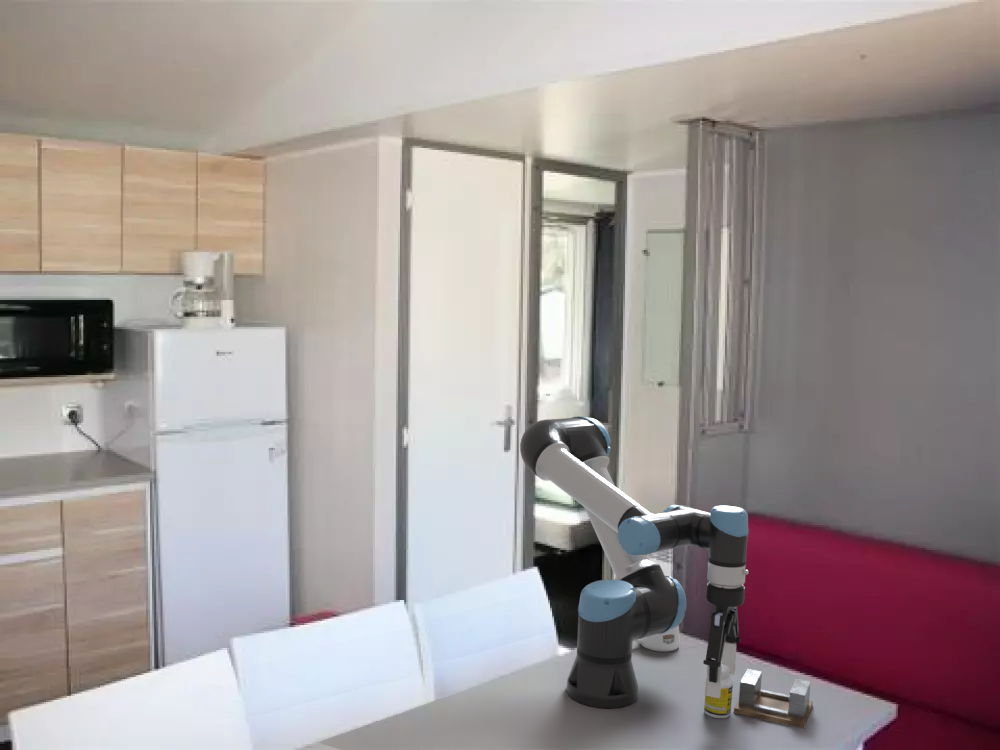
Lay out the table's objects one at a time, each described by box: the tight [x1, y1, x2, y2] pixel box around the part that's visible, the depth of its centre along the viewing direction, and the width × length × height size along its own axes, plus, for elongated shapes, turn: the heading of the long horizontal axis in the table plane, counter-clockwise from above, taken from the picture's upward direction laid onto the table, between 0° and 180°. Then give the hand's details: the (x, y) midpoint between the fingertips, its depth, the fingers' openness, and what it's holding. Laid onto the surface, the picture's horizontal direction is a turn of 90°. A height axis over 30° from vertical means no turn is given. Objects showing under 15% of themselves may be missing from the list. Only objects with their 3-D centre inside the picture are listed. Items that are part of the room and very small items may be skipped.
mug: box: [634, 624, 681, 653], centre depth 237 cm, size 12×10×6 cm
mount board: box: [733, 693, 813, 729], centre depth 204 cm, size 14×12×1 cm
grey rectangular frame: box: [738, 668, 812, 719], centre depth 203 cm, size 13×9×5 cm
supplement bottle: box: [703, 663, 734, 719], centre depth 200 cm, size 5×5×10 cm
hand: (720, 684), depth 200 cm, fingers open, 13 cm apart
